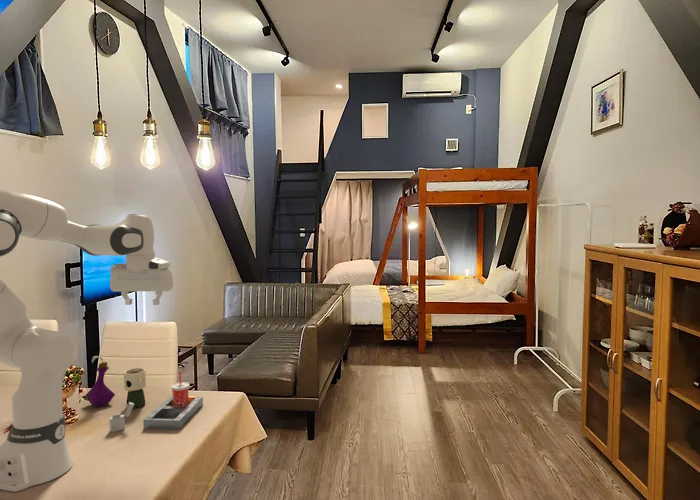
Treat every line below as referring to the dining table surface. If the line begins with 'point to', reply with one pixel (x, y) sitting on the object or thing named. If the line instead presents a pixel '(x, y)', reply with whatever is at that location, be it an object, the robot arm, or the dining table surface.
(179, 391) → the beverage cup
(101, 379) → the perfume bottle
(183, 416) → the gray divided tray
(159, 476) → the dining table surface
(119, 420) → the lighter
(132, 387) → the character mug
